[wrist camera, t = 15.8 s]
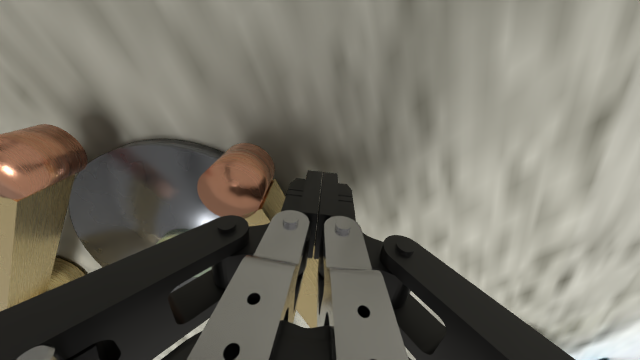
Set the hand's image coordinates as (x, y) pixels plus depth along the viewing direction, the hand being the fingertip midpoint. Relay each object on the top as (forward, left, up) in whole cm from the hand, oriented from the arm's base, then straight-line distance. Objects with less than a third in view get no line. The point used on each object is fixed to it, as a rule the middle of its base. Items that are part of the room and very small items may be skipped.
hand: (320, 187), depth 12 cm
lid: (+7, -9, -3) cm, 12 cm away
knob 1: (+7, -18, -2) cm, 19 cm away
